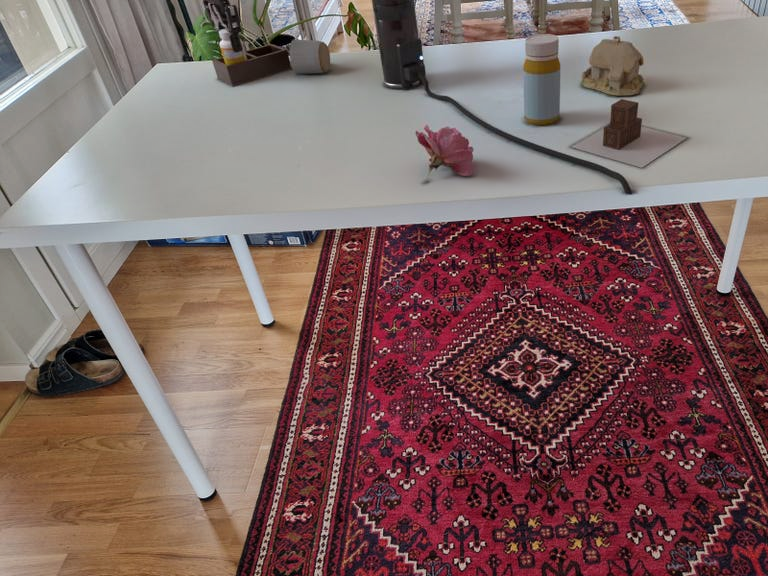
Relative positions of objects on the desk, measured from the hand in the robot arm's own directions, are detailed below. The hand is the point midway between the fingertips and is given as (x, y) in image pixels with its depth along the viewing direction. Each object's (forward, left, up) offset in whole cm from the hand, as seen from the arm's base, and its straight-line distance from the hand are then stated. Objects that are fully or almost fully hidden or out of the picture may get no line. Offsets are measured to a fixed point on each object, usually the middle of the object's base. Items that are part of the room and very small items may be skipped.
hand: (232, 49), depth 156 cm
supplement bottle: (0, 0, -6) cm, 6 cm away
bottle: (-78, -28, -7) cm, 83 cm away
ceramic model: (-77, -51, -7) cm, 92 cm away
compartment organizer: (0, -4, -7) cm, 8 cm away
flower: (-81, -1, -7) cm, 81 cm away
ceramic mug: (-11, -15, -7) cm, 20 cm away
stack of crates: (-98, -30, -7) cm, 103 cm away
